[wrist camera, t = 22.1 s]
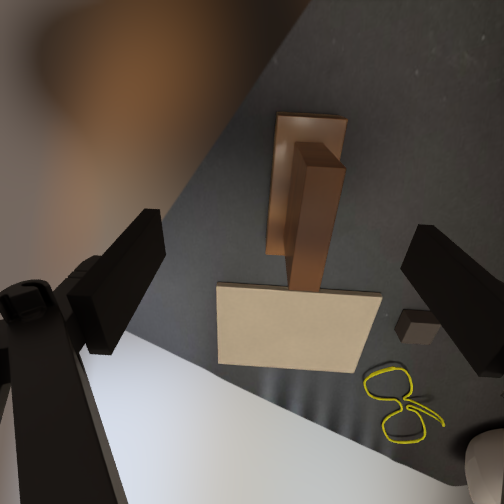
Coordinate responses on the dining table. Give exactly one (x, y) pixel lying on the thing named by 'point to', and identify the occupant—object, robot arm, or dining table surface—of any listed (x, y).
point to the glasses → (401, 404)
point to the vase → (485, 467)
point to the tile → (293, 326)
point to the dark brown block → (417, 327)
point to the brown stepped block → (305, 193)
